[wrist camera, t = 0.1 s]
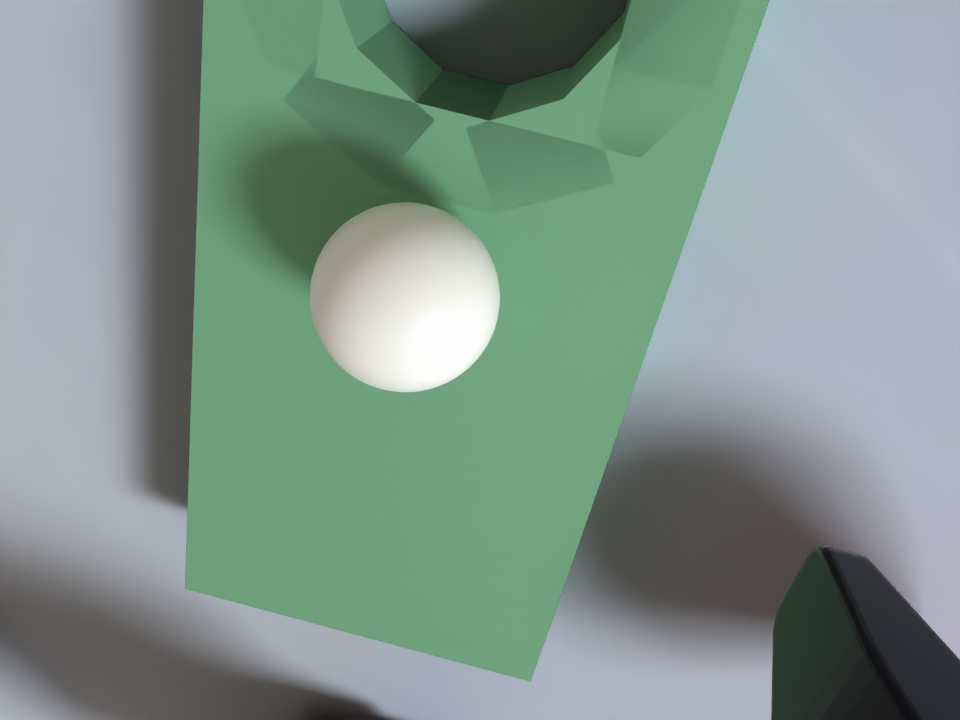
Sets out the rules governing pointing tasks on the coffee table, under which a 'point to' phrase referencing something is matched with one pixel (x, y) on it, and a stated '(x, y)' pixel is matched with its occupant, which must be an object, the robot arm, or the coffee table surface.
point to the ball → (404, 297)
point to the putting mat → (514, 343)
